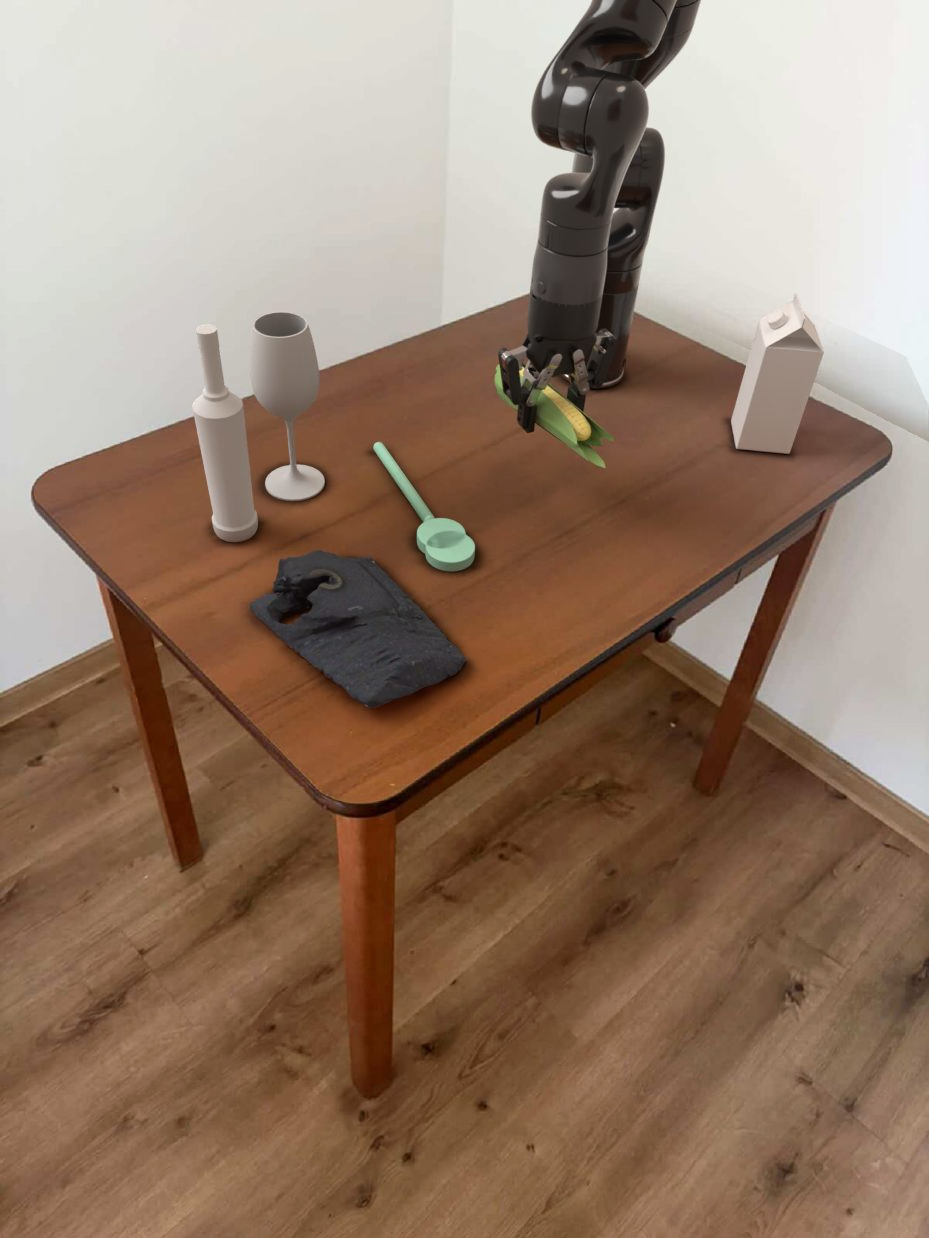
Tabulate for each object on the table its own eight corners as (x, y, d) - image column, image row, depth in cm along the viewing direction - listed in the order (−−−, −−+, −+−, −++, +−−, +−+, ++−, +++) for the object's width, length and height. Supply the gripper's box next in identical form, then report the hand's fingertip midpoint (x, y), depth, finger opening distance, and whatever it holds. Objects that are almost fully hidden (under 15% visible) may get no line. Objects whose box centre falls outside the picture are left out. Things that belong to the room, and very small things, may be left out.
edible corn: (515, 380, 118) (518, 347, 115) (622, 464, 107) (629, 429, 104) (481, 392, 116) (483, 358, 113) (587, 478, 105) (592, 444, 102)
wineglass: (300, 457, 122) (287, 301, 107) (338, 485, 118) (330, 327, 104) (251, 481, 118) (230, 322, 103) (289, 510, 114) (272, 349, 100)
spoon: (356, 453, 123) (356, 444, 122) (397, 444, 125) (397, 435, 124) (437, 576, 107) (437, 567, 106) (482, 564, 109) (483, 555, 108)
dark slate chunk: (351, 737, 90) (349, 704, 87) (240, 604, 102) (235, 570, 99) (480, 669, 97) (483, 636, 94) (362, 552, 109) (361, 519, 106)
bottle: (221, 548, 109) (187, 346, 91) (207, 522, 112) (172, 322, 95) (265, 536, 111) (240, 336, 93) (250, 511, 114) (224, 312, 96)
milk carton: (782, 426, 133) (824, 295, 119) (789, 455, 128) (834, 322, 114) (730, 421, 133) (766, 289, 120) (735, 450, 128) (774, 316, 115)
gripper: (608, 259, 104) (586, 395, 116) (488, 279, 99) (479, 419, 111) (645, 290, 99) (619, 429, 111) (521, 312, 94) (507, 455, 106)
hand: (549, 423), depth 111 cm, fingers closed on edible corn, 5 cm apart
